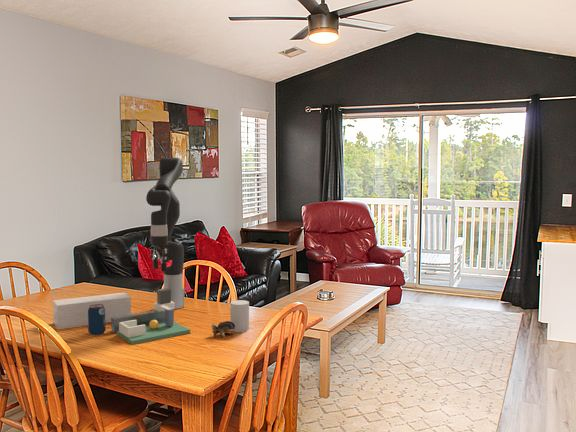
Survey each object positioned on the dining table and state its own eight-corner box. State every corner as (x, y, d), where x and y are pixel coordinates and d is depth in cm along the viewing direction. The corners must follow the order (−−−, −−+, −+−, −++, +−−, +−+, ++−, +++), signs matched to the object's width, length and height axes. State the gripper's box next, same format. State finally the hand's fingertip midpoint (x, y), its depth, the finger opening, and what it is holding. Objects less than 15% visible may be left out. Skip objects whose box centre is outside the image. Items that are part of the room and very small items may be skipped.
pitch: (173, 324, 249) (173, 321, 249) (190, 332, 236) (190, 329, 236) (117, 334, 233) (117, 331, 233) (132, 344, 220) (132, 341, 220)
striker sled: (169, 315, 256) (169, 287, 254) (185, 323, 244) (185, 293, 242) (153, 318, 251) (153, 289, 250) (169, 326, 239) (168, 296, 237)
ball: (156, 327, 239) (156, 318, 239) (160, 329, 236) (160, 320, 236) (147, 328, 237) (147, 319, 236) (151, 330, 234) (151, 321, 233)
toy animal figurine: (219, 338, 226) (238, 330, 231) (212, 322, 228) (231, 315, 233) (214, 343, 232) (232, 335, 237) (207, 327, 234) (225, 320, 239)
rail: (170, 320, 255) (170, 307, 255) (173, 321, 253) (173, 309, 252) (111, 331, 238) (111, 317, 237) (114, 332, 235) (113, 319, 235)
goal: (136, 328, 237) (135, 319, 236) (145, 334, 229) (145, 324, 229) (119, 331, 232) (118, 322, 232) (128, 337, 224) (128, 328, 224)
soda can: (108, 333, 235) (108, 305, 233) (93, 337, 230) (92, 308, 229) (100, 330, 239) (100, 303, 238) (85, 333, 234) (84, 305, 233)
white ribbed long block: (57, 329, 240) (57, 305, 239) (53, 323, 249) (53, 300, 248) (131, 319, 257) (130, 296, 256) (124, 314, 266) (124, 292, 265)
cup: (251, 327, 245) (251, 301, 244) (244, 332, 237) (244, 305, 236) (235, 325, 247) (235, 299, 246) (227, 330, 240) (227, 303, 239)
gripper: (173, 235, 244) (174, 271, 246) (160, 232, 256) (160, 266, 257) (158, 236, 240) (158, 273, 241) (145, 233, 251) (145, 268, 253)
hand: (159, 270), depth 249 cm, fingers open, 8 cm apart
